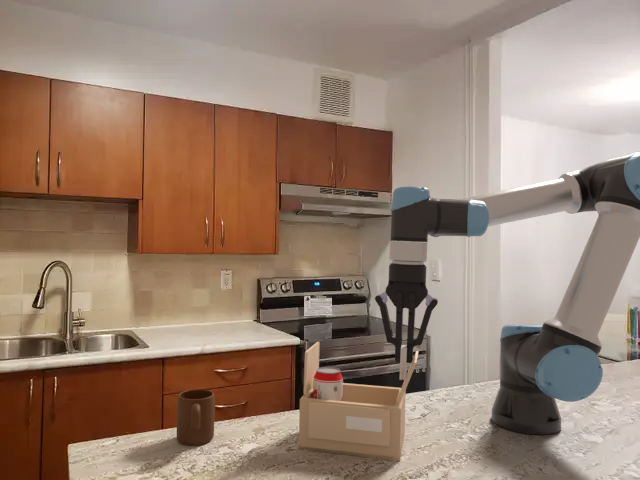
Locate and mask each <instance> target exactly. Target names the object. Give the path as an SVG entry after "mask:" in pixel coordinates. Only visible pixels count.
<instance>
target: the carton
mask: <svg viewBox="0 0 640 480" xmlns="http://www.w3.org/2000/svg"><path fill="white" fill-rule="evenodd" d="M401 388H402V387H395V386H382V385H371V384H369V385H368V384H358V383H347V382H343V393H342V401H335V400H324V399H313V387H312V388H311V389H310V390H309V391H308V392H307V394H304V393H303V395H302V396H301V398H299V425H298V429H299V431H298V432H299V433H298V450H300V451H301V450H303V451H311V452H319V453H327V454H328V453H329V454H337V455H345V456H355V457H361V458H362V457H363V458H369V459H380V460H381V459H382V460H388V461H389V460H390V461H397V462H400V461H401V456H402V452H403V446H404V439H405V431H406V430H405V429H406V393H407V391H406V390H407V389H406V390H405V393H404V395H403V398H402V400H401V403H399V402H398V400H399V396H400V392H401Z"/></svg>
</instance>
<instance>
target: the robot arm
mask: <svg viewBox="0 0 640 480" xmlns="http://www.w3.org/2000/svg"><path fill="white" fill-rule="evenodd" d="M390 212H391V215H390V216H391V217H390V240H389V260H390V261H391V263H389V266H388V282H387V286H386V287H385V291H383V292H381V293H380V294H377V295H376V296H375V297H374V300H375V301H376V304H377V305H378V308H379V311H380V315H381V320H382V326H383V330H384V336H385V339H386V342H387V343H388V344H392V345H394V347H395V348H394V361H395V362H396V363H399V379H398V380H399V381H404V380H406V375H407V373H408V370H407V369H408V367H407V366H408V364H411V363H412V360H413V358H414V347H417V346H421V345H422V344H423V342H424V338H425V335H426V332H427V328H428V326H429V322H430V318H431V314H432V312H433V310H434V309H435V308H436V307H437V305H438V302H439V301H438V299H437V298H435V297H433V296H432V295H431V294H429V291H428V288H427V266H426V265H425V264H424V263H426V262H427V259H428V241H429V239H428V236H431V237H433V238H438V237H467V238H470V237H471V238H472V237H481V236H483V235H485V233H486V232H487V230H488V227H492V226H497V225H498V226H499V225H503V224H507V223H511V222H512V223H513V222H516V221H517V222H518V221H521V220H526V219H531V218H537V217H541V216H547V215H552V214H557V213H560V212H561V213H562V212H566V213H567V214H570V215H572V214H574V215H575V214H578V213H585V212H586V213H587V212H597V214H598V216H597V219H596V222H595V223H594V226H593V228H592V230H591V233H590V235H589V237H588V240H587V242H586V244H585V246H584V249H583V251H582V253H581V256H580V257H579V261H578V263H577V265H576V268H575V269H574V273H573V274H572V277H571V280H569V284H568V286H567V288H566V290H565V293H564V295H563V298H562V300H561V302H560V305H559V307H558V310H557V311H556V314H555V316H554V317H553V318H552V319H548V320H546V321H544V322H543V324H542V325H541V324H505V325H504V326H502V328H501V332H500V338H499V342H500V353H499V354H500V361H499V362H500V364H499V368H500V370H499V372H500V373H499V375H500V376H499V387H498V388H499V389H498V391H497V394H496V397H495V399H494V401H493V404H492V407H491V421H492V422H493V423H494V424H496V425H497V426H499V427H501V428H503V429H506V430H509V431H512V432H515V433H516V432H517V433H520V434H521V433H522V434H527V435H528V434H530V435H551V434H552V435H553V434H556V433H558V432H560V431H561V430H562V417H561V414H560V410H559V408H558V405H557V401H556V400H559V401H561V402H567V403H568V402H569V403H573V402H578V401H582V400H584V399H587V398H589V397H590V396H591V395H593V394H594V393H595V392H596V391H597V389H599V386H600V385H601V383H602V379H603V375H604V374H603V373H604V372H603V371H604V369H603V366H601V364H602V362H601V360H600V358H599V355H600V352H601V350H602V347H603V344H602V343H601V341H600V338H599V334H600V333H599V332H600V331H601V329H602V326H603V324H604V321H605V319H606V317H607V315H608V312H609V309H610V308H611V305H612V303H613V301H614V299H615V296H616V294H617V291H618V289H619V286H620V284H621V282H622V280H623V277H624V275H625V272H626V270H627V268H628V265H629V263H630V261H631V259H632V256H633V254H634V252H635V249H636V247H637V245H638V242H639V240H640V151H635V152H633V153H631V154H627V155H624V156H620V157H615V158H610V159H607V160H603V161H601V162H599V163H595V164H593V165H590V166H587V167H583V168H582V169H578V170H574V171H570V172H567V173H566V172H565V173H563V174H561V175H560V176H559V177H558V179H553V180H548V181H544V182H538V183H534V184H528V185H524V186H519V187H514V188H509V189H504V190H499V191H494V192H489V193H484V194H478V195H474V196H468V197H464V198H458V199H457V198H456V199H455V198H436V197H435V198H434V197H431V195H430V189H429V188H427V187H424V186H423V187H422V186H413V185H412V186H409V185H408V186H399V187H396V188H395V189H394V190H393V192H392V200H391V208H390ZM388 298H389V299H390V301H391V303H392V304H393V306H394V307H395V315H396V316H395V336H394V334H393V329H392V324H391V319H390V315H389V314H390V313H389V309H388V305H387V303H388ZM424 300H425V306H426V309H425V312H424V314H423V317H422V320H421V325H420V328H419V331H418V333H417V337H416V338H415V337H414V336H415V325H416V324H415V323H416V321H415V320H416V319H415V318H416V309H418V307H419V306H420V305H421V304H422V302H423V301H424ZM404 309H408V312H407V313H408V315H407V317H408V318H407V336H406V338H407V339H406V344H403V325H404V324H403V323H404Z"/></svg>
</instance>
